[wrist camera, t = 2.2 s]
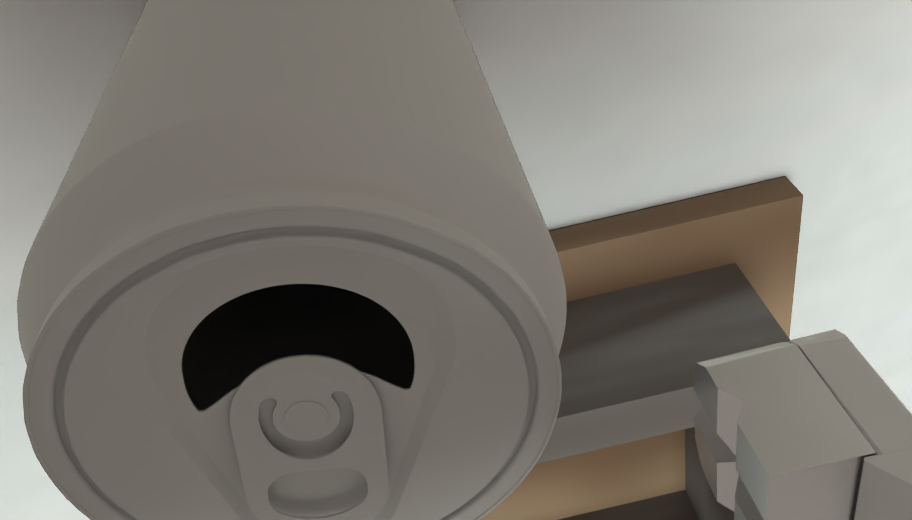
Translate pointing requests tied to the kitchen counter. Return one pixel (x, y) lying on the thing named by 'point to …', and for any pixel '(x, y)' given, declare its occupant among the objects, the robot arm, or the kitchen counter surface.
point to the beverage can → (293, 276)
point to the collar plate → (656, 349)
